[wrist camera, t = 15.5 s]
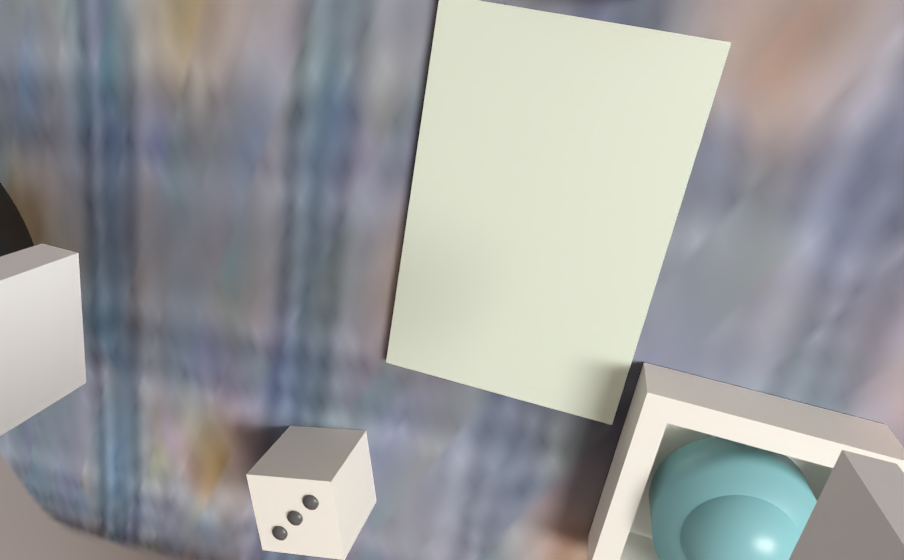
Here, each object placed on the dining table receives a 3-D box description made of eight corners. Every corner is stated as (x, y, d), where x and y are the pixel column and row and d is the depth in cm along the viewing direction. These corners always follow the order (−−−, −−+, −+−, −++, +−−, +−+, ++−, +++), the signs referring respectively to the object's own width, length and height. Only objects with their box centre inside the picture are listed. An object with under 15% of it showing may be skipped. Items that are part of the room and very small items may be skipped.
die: (303, 493, 31) (261, 551, 27) (291, 424, 30) (245, 475, 26) (377, 500, 30) (343, 561, 26) (366, 429, 29) (330, 483, 25)
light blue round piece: (631, 522, 27) (634, 602, 22) (671, 406, 24) (683, 473, 20) (774, 565, 26) (805, 658, 21) (829, 448, 23) (875, 527, 19)
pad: (388, 359, 27) (385, 362, 27) (441, -5, 22) (439, -6, 21) (612, 421, 25) (611, 425, 25) (729, 42, 20) (731, 42, 20)
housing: (588, 534, 27) (586, 577, 25) (643, 362, 24) (647, 392, 22) (797, 599, 26) (815, 650, 24) (885, 424, 23) (916, 464, 20)
